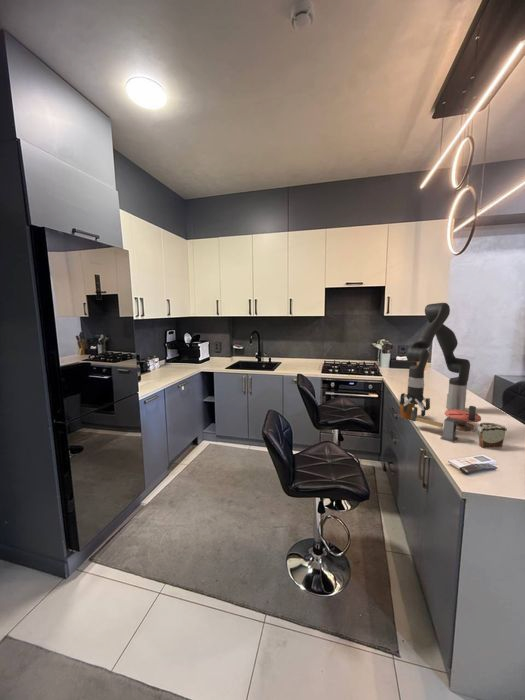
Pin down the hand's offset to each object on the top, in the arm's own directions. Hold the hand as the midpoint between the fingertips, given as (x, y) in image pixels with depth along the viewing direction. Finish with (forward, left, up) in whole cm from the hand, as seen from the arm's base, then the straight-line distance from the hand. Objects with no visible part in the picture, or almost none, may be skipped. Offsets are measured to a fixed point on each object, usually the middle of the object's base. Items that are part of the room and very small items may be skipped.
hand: (414, 414), depth 154 cm
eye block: (+13, +11, -8) cm, 19 cm away
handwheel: (0, +27, -6) cm, 28 cm away
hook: (+5, +4, -3) cm, 7 cm away
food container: (+20, +24, -8) cm, 33 cm away
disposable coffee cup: (-16, +5, -8) cm, 19 cm away
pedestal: (0, +27, -8) cm, 28 cm away
